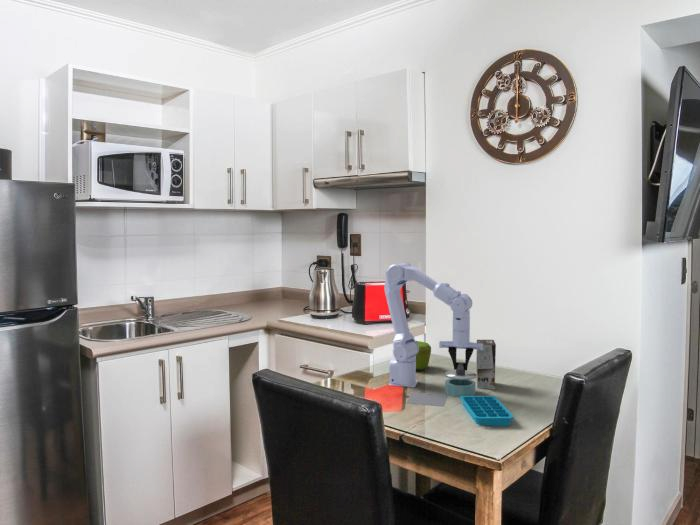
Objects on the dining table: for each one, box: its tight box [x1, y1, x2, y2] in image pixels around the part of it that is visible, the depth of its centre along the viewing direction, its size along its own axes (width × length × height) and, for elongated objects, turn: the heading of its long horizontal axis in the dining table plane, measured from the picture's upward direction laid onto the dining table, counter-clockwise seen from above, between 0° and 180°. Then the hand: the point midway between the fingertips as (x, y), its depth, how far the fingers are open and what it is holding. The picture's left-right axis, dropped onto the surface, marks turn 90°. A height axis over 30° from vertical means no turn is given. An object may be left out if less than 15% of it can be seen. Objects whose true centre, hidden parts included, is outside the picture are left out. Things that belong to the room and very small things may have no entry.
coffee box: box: [475, 339, 497, 390], centre depth 195 cm, size 9×6×16 cm
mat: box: [405, 391, 448, 407], centre depth 179 cm, size 12×12×1 cm
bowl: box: [444, 378, 476, 398], centre depth 186 cm, size 10×10×4 cm
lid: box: [444, 361, 476, 380], centre depth 185 cm, size 10×10×5 cm
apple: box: [415, 340, 432, 371], centre depth 219 cm, size 12×12×11 cm
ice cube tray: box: [459, 395, 515, 427], centre depth 165 cm, size 12×20×3 cm, turn 2°
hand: (460, 369), depth 185 cm, fingers closed on lid, 3 cm apart
